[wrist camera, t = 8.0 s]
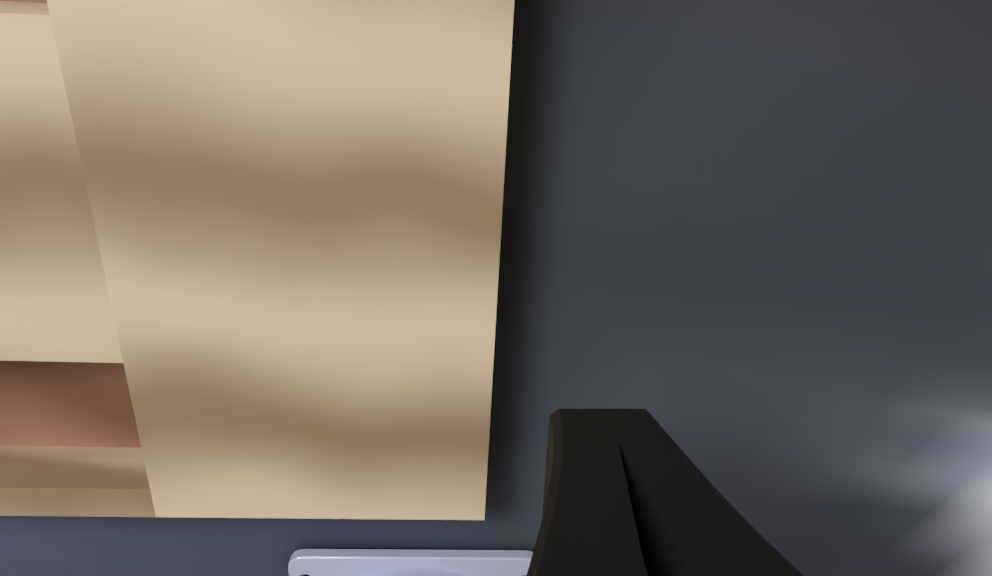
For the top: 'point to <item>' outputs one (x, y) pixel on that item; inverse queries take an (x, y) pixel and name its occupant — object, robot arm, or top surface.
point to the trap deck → (250, 256)
